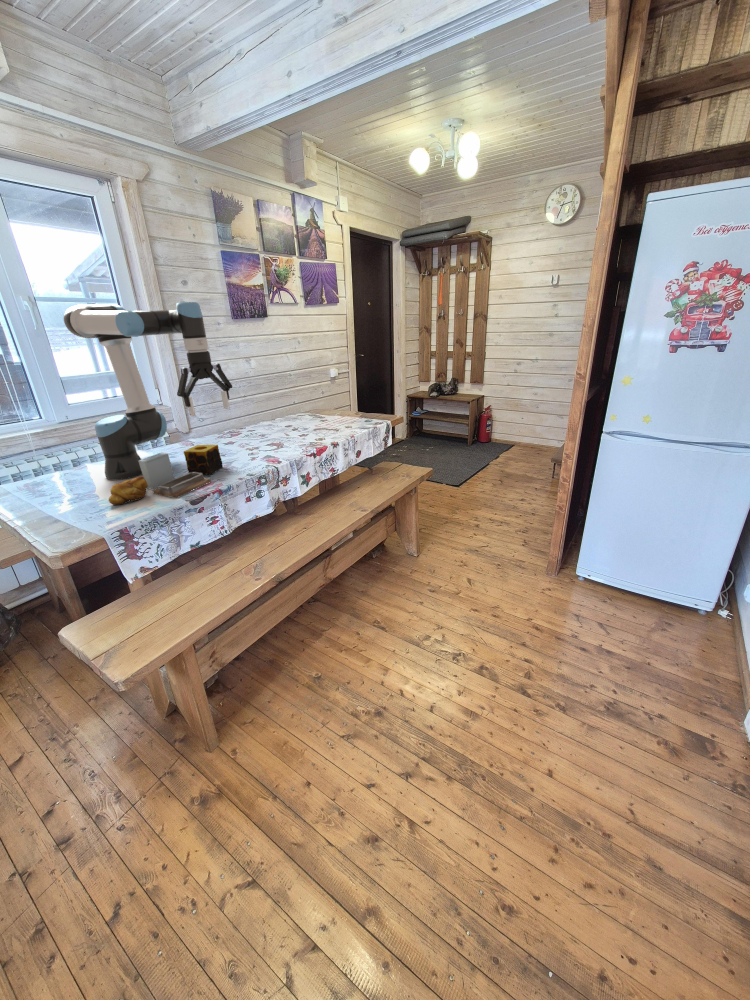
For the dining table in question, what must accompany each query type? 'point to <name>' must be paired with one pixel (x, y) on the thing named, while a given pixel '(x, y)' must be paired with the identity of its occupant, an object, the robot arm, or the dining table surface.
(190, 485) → the track
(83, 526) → the dining table surface
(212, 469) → the candle
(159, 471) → the grey upright block
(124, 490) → the bread roll
